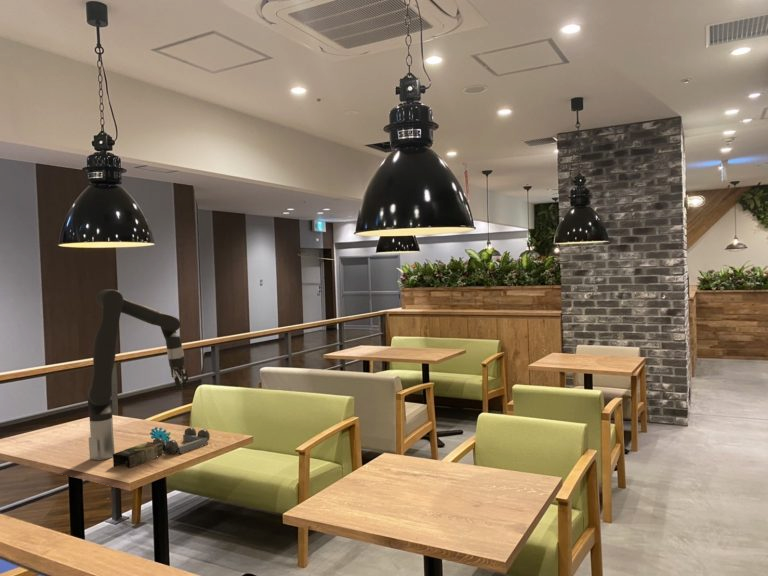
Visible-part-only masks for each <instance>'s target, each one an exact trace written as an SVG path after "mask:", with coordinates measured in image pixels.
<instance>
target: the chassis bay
mask: <svg viewBox="0 0 768 576" xmlns="http://www.w3.org/2000/svg"><path fill="white" fill-rule="evenodd" d="M210 437H211V436H210V432H209V431H208V430H207V429H206V428H204V429H201V430H198V432H197V431H196V429H195V428H194V427H192V426H191V427H187V428H186V429H185V430H184V434H183V435H182V441H183V442H185V441H187V442H186V443H185V444H182V445H179V444H178V442H177V441H176V440H174V439H172V440H171V439H170V440H169V441H168V442H167V443H166V444H165V443H164V441H163V439H162V438H157V439H155V438H153V439H152V440H153V441H152V442H157V443H162V449H163V452H165V451H167V452H166V453H168V455H170V454H172V455H175V454H176V453H182V454H184V453H183V452H185V453H186V451H187V452H189V450H190V451H193V450H194V449H197V448H200V446H201V447H203V446H205V444H206V445H208V444H209V440H210ZM202 445H203V446H202ZM192 449H193V450H192Z"/></svg>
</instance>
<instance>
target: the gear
mask: <svg viewBox="0 0 768 576" xmlns="http://www.w3.org/2000/svg"><path fill="white" fill-rule="evenodd" d="M171 433H172V432H170V431H169V432H167V430H166V429H164V430H163V427H161V426H160V427H157V426H155V428H151V430H150V433H149V435H151V436H150V438H151V439H152V440H154V439H157V438H162V439H163V441H164V443H165V444H166V443H167V442H168V441H170V440H171V436H170V435H171Z"/></svg>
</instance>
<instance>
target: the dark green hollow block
mask: <svg viewBox="0 0 768 576" xmlns="http://www.w3.org/2000/svg"><path fill="white" fill-rule="evenodd" d="M160 455H161V456H163V455H164V451H163V449H162V443H157V442H153V441H146V442H143V443H141V444H138V445H134V446H132V447H129V448H126V449H124V450H121V451H117V452H115V454H113V457H112V459H113V460H112V461H113V462H112V463H113V464H112V465H113V467H116V466H118V464H119V465H120V464H124V463H126V464H125V467H127V468H130V467H134V466H138V464H139V465H142V464H143V462H144V463H147V462H149V461H151V460H154V459H156V458H158V457H157V456H159V457H161V456H160ZM155 457H156V458H155ZM153 458H154V459H153ZM150 459H151V460H150ZM148 460H149V461H148ZM146 461H147V462H146ZM141 463H142V464H141Z"/></svg>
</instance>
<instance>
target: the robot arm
mask: <svg viewBox="0 0 768 576" xmlns="http://www.w3.org/2000/svg"><path fill="white" fill-rule="evenodd" d="M95 301H96V303H97V305H98V306H99V307H100V308H101V309H102V319H101V322H100V325H99V328H98V330H97V331H96V334H95V336H94V341H93V352H92V355H93V356H92V362H93V364H92V365H93V379H92V384H91V385H90V386H89V388H88V389H87V394H86V395H87V408H88V410H87V411H88V417H89V433H90V434H89V435H90V436H89V437H88V450H89V452H88V453H89V454H88V455H89V460H94V461H102V460H107V459H110V458H113V454H115V453H116V451H115V440H114V439H115V437H114V423H113V422H114V421H113V420H114V419H113V409H112V401H111V398H112V397H113V396H112V395H113V392H112V391H113V388H112V387H113V384H112V381H113V380H112V378H113V371H114V366H115V361H116V355H117V346H118V337H119V334H118V333H119V328H120V327H119V326H120V319H121V314H125V315H127V316H130V317H133V318H135V319H138V320H140V321H141V322H145V323H147V324H150V325H153V326H157V327H160V329H161V333H162V335H163V337H164V340H165V346H166V350H167V351H166V354H167V360H168V364H169V368H170V373H171V378H172V379H173V380H174V385H175V387H180V386H181V388H182V390H184V391H185V390H187V389H188V384H187V383H188V381H189V376H188V371H187V368H184V366H185V365H186V358H185V352H184V348H183V344H182V338H181V336H180V334H178V333H177V331H178V330H179V329H180V327H181V325H182V324H181V320H180V319H179V318H177V317H176V316H173V315H171V314H168V313H164V312H161V311H159V310H157V309H155V308H152V307H149V306H146V305H144V304H140V303H138V302H137V303H136V302H134V301H131V300H128V299H126V298H124V296H123V294H122V293H121V291H119V290H117V289H110V288H109V289H108V288H106V289H103V290H101V291H99V292H98V293H97V294H96V295H95Z"/></svg>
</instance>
